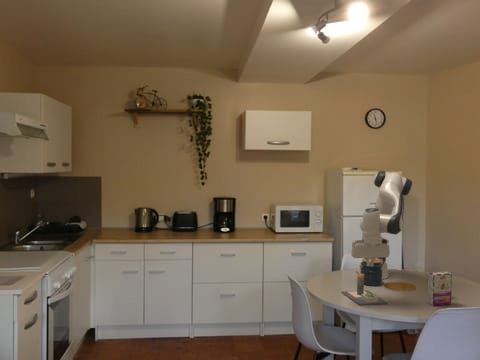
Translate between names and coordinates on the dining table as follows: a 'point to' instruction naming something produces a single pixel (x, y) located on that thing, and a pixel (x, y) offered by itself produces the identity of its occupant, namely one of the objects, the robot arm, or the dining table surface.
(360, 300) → the board
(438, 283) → the candy bar box
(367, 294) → the button
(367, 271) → the canister
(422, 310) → the dining table surface
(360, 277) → the marker
